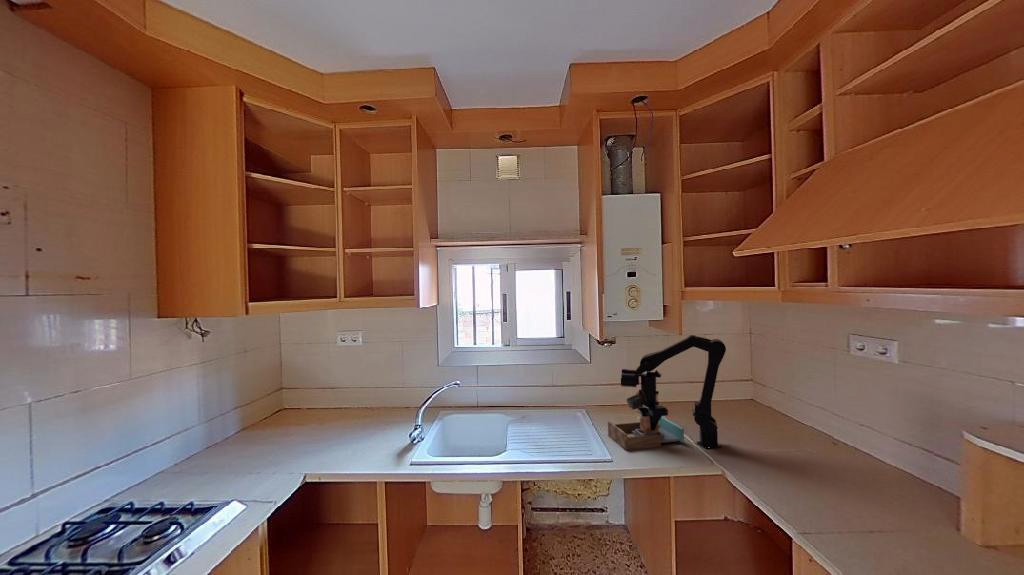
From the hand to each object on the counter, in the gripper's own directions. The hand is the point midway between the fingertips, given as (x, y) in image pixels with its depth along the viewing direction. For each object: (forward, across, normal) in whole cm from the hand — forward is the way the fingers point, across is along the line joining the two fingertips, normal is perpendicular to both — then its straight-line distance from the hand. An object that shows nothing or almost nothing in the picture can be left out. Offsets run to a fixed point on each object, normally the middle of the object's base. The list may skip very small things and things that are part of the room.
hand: (649, 428), depth 179 cm
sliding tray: (+4, 0, +3) cm, 4 cm away
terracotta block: (+1, 0, 0) cm, 1 cm away
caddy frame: (+5, 0, -7) cm, 8 cm away
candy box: (+5, -15, +7) cm, 17 cm away
